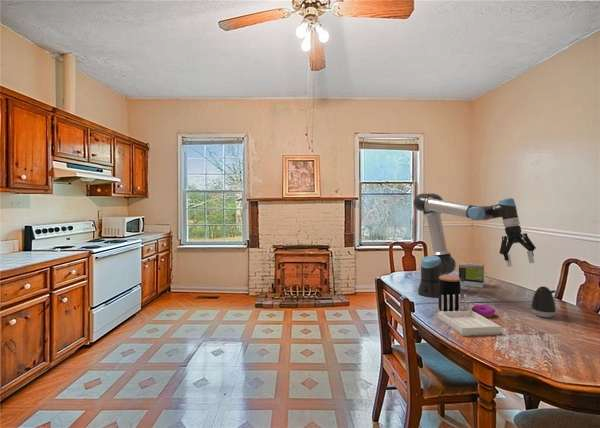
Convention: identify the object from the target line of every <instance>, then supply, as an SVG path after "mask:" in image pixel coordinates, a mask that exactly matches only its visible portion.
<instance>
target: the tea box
mask: <svg viewBox="0 0 600 428" xmlns="http://www.w3.org/2000/svg"><path fill="white" fill-rule="evenodd" d="M458 277H459V278H460V281H459V282H460V287H461V286H462V287H471V288H484V285H485V265H484V264H482V263H470V262H469V263H468V262H460V263H459V264H458Z"/></svg>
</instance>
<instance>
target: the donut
mask: <svg viewBox="0 0 600 428" xmlns="http://www.w3.org/2000/svg"><path fill="white" fill-rule="evenodd" d="M471 311H474V312H476V313H477V314H479V315H481V316H483V317H485V318H487V319H488V318H492V317H493V316H494V315H495V313H496V309H495V308H494V307H492V306H490V305H487V304H475V305H474V306H472V308H471Z"/></svg>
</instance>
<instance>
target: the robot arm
mask: <svg viewBox="0 0 600 428" xmlns="http://www.w3.org/2000/svg"><path fill="white" fill-rule="evenodd" d="M413 206H414V208H415V209H416V211H419V212H423V216H424V217H426V220H427V226H428V231H429V236H430V242H431V246H432V254H431V255H427V256H423V257H422V258H421V260H420V283H419V285H418V287H417V294H418V293H419V295H420V296H422V295H423V297H428V298H439V280H440V279H439V276H444V275H449V274H451V273H453V272H454V271H456V267H457V262H456V260H455V259H454V258H453V256H452V255H451V254H452V253H451V252H449V251H448V248H447V247H448V246H447V243H446V237H445V233H444V227H443V221H442V218H441V214H447V215H452V216H457V217H461V218H466V219H467V218H468V219H470V220H472V221H489V220H493V219H497V218H501V219H502V223H503V227H504V231H505V235H504V236H501V244H500V249H499V254H500V255H502V256H503V257H504V261H505V263H506V266H507V267H513V264H512V260H511V255H510V254H509V253H510V250H511V248H512V246H513V245H514V244H520V245H521V246H523V248H525V249H526V250H527V251H526V254H527V258H528V263H529V264H534V263H535V258H534V256H535V255H534V251H535V250H536V249H537V247H536V246H535V245H534V243H533V241H532V240H531V239H530V238H529V236H528V233H526V232H524V233H522V227H521V225H520V224H521V223H520V220H519V214H518V210H517V205H516V203H515V199H514V198H512V197H508V198H502V199H500V200H498V203H497V204H492V205H485V206H481V205H472V204H466V203H461V202H460V203H459V202H454V201H448V200H444V199H443V197H442V196H441V195H439V194H438V193H432V192H431V193H419V194H417V195H416V196H415V197H414V198H413Z"/></svg>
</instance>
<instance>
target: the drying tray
mask: <svg viewBox="0 0 600 428" xmlns="http://www.w3.org/2000/svg"><path fill="white" fill-rule="evenodd" d="M437 319H438V320H439V319H440V320H441V322H442V321H443V322H444V323H443V322H442V323H443V324H445V325H446V324H447V325H448V326H447V325H446V326H447V327H448V328H450V327H451V329H452V330H453V331H454V330H455V331H454V332H456V333H457V332H458V333H457V334H459V335H460V336H461V335H462V337H465V336H467V337H470V336H471V335H474V336H495V335H502V326H501V325H499V324H497V323H495V322H493V321H492V320H490V319H488V318H485V317H483V316H481V315H479V314H477V313H476V312H474V311H472V310H466V311H464V310H461V311H444V312H441V311H437ZM440 320H439V321H440Z"/></svg>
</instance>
